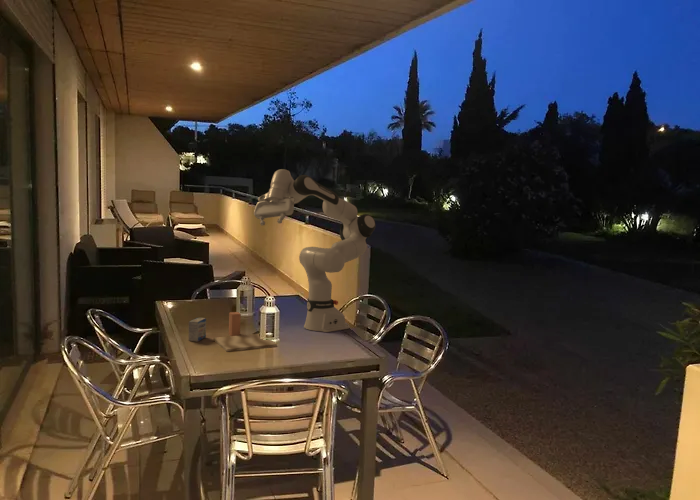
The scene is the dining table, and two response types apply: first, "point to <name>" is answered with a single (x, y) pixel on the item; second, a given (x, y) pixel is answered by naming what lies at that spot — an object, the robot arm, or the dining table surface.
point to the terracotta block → (234, 323)
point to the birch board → (243, 342)
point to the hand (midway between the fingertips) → (270, 223)
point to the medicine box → (197, 329)
